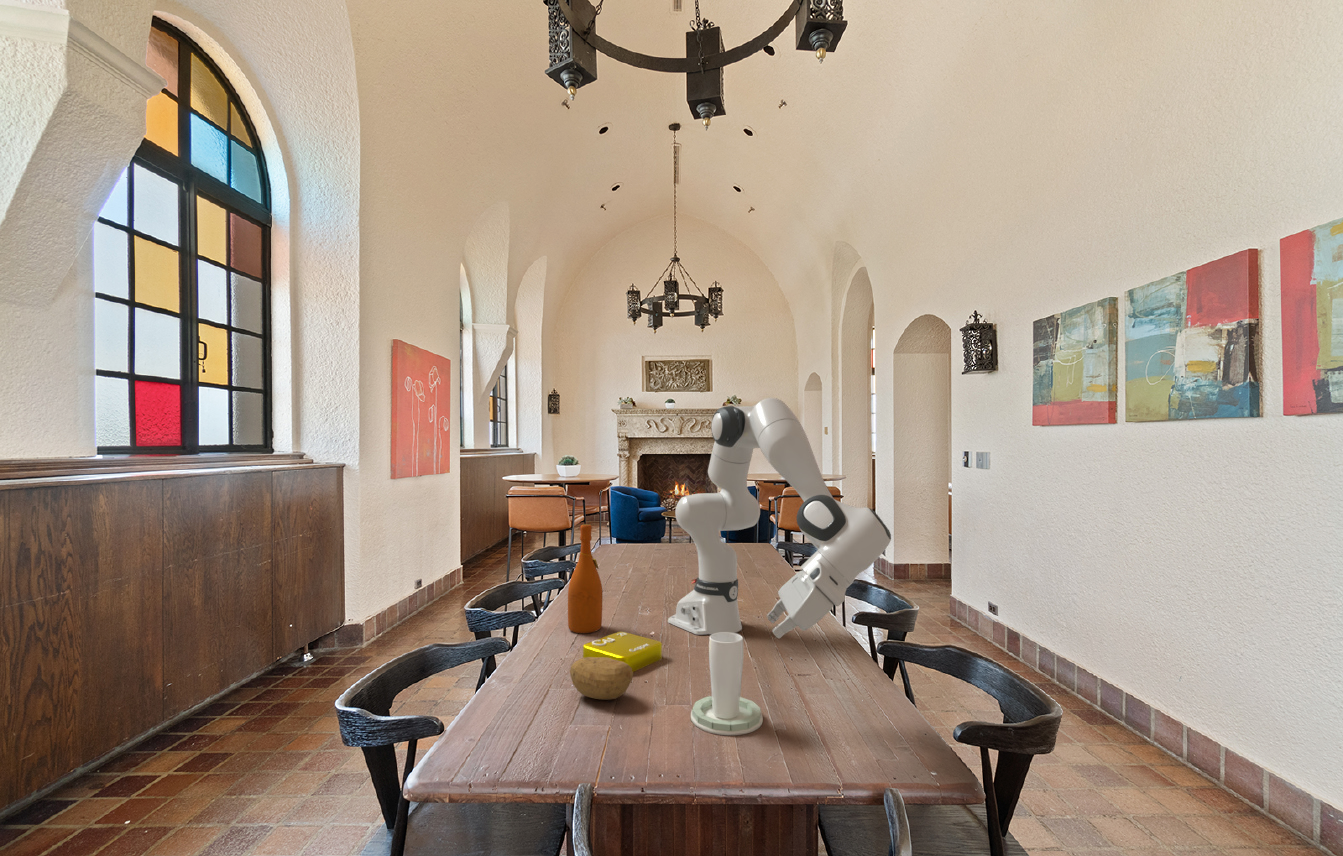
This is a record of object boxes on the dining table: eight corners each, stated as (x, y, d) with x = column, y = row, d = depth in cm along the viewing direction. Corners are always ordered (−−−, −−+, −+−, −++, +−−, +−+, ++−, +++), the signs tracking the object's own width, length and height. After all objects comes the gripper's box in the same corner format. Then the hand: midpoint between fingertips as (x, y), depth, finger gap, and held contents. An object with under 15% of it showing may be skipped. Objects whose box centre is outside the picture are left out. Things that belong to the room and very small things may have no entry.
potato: (584, 683, 136) (584, 647, 136) (640, 695, 130) (641, 657, 130) (558, 700, 127) (559, 661, 127) (617, 713, 121) (618, 672, 121)
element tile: (624, 677, 140) (624, 656, 141) (579, 662, 150) (579, 642, 150) (665, 659, 152) (665, 640, 152) (620, 646, 162) (620, 628, 162)
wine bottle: (599, 634, 170) (600, 526, 170) (564, 634, 170) (565, 526, 171) (604, 624, 180) (605, 522, 180) (570, 623, 180) (572, 521, 180)
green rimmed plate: (675, 718, 119) (675, 709, 119) (720, 697, 129) (720, 688, 129) (733, 743, 109) (733, 733, 109) (776, 718, 119) (776, 708, 120)
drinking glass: (739, 724, 115) (740, 644, 116) (705, 719, 117) (705, 640, 118) (745, 709, 122) (746, 633, 122) (712, 704, 124) (713, 630, 124)
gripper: (802, 556, 129) (755, 601, 130) (821, 577, 109) (766, 631, 109) (823, 577, 129) (776, 623, 129) (846, 603, 109) (791, 657, 109)
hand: (772, 627), depth 119 cm, fingers open, 8 cm apart
